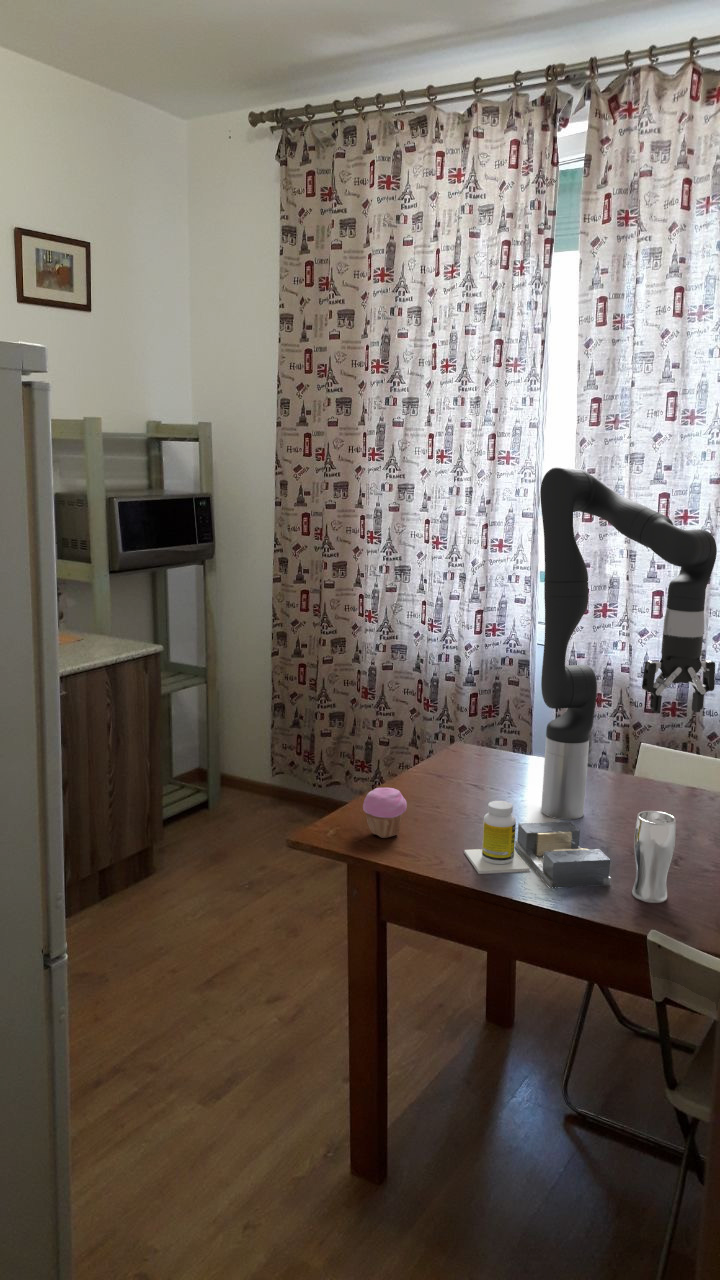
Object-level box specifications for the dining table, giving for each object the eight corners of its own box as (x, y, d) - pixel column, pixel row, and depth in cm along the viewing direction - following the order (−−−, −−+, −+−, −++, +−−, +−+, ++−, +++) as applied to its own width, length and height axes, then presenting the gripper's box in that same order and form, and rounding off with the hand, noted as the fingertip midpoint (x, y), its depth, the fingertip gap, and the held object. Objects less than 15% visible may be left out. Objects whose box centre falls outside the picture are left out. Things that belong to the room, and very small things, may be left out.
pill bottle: (517, 865, 190) (520, 810, 188) (485, 865, 190) (487, 810, 188) (509, 852, 196) (512, 799, 194) (478, 852, 196) (481, 799, 194)
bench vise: (515, 847, 201) (516, 823, 200) (570, 844, 203) (572, 821, 202) (549, 888, 182) (551, 862, 181) (610, 884, 184) (612, 859, 183)
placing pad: (464, 852, 197) (464, 849, 197) (512, 850, 199) (512, 847, 199) (479, 873, 187) (479, 870, 187) (529, 871, 189) (529, 868, 189)
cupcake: (413, 835, 205) (415, 789, 203) (384, 846, 199) (385, 799, 197) (382, 823, 211) (384, 778, 209) (353, 833, 205) (354, 787, 203)
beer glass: (652, 907, 175) (660, 827, 173) (621, 893, 181) (628, 814, 178) (677, 898, 179) (685, 819, 177) (646, 884, 185) (653, 807, 182)
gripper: (706, 628, 200) (699, 706, 203) (640, 628, 198) (634, 708, 201) (726, 635, 193) (718, 716, 196) (658, 635, 190) (651, 718, 193)
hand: (675, 712), depth 198 cm, fingers open, 8 cm apart
